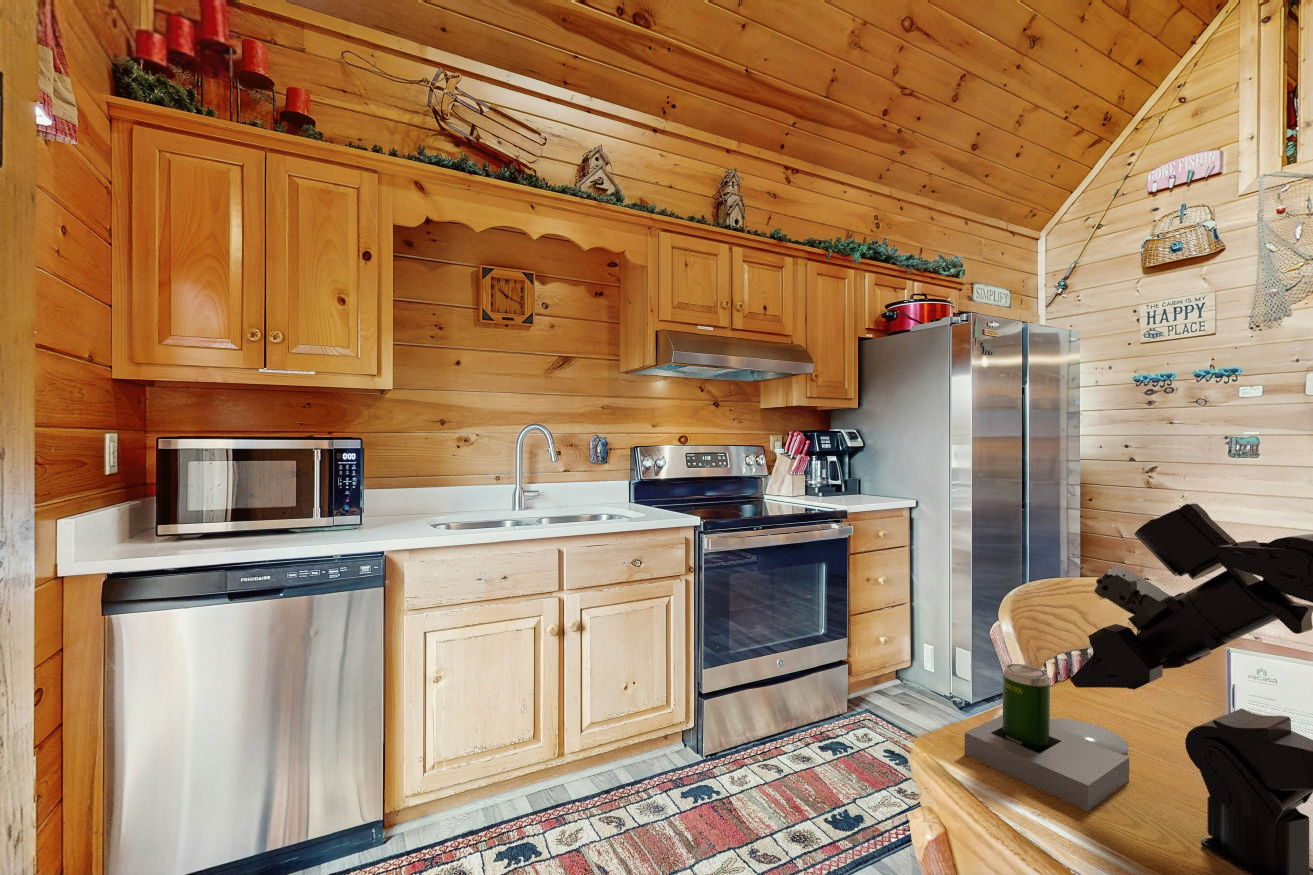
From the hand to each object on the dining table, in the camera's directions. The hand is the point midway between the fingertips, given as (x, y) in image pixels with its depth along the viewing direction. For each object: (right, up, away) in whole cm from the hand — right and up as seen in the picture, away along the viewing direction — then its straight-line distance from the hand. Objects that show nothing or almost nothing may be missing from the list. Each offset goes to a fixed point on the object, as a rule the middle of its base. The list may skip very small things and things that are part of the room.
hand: (1091, 675), depth 72 cm
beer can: (-4, -14, +6) cm, 16 cm away
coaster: (+8, -14, +12) cm, 20 cm away
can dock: (-4, -14, +5) cm, 15 cm away
